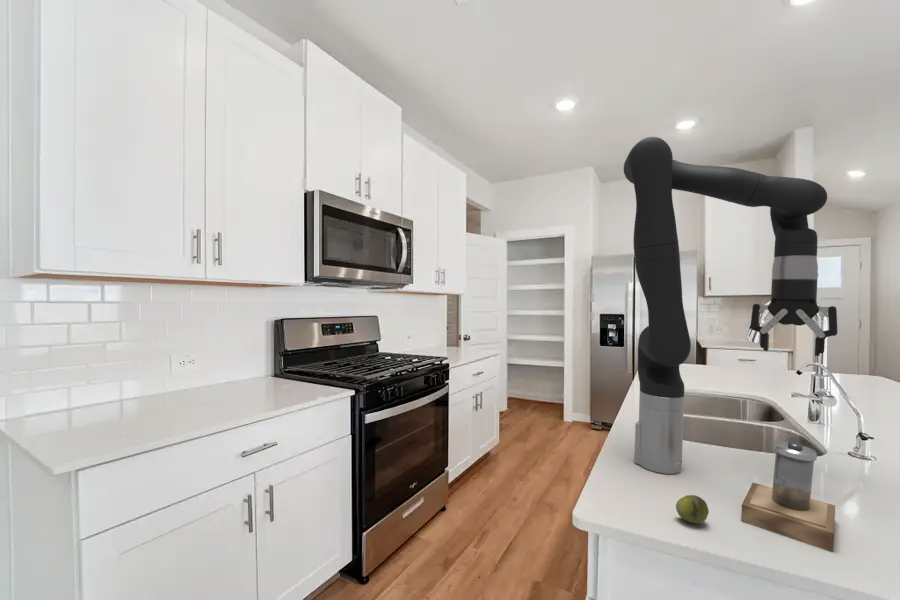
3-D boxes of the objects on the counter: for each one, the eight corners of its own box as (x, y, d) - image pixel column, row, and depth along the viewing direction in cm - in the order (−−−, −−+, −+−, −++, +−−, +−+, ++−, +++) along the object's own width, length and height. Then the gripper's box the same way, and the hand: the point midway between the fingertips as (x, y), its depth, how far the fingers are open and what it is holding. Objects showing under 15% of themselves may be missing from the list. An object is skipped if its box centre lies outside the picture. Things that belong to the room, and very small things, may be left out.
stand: (741, 520, 73) (741, 502, 73) (752, 497, 82) (752, 481, 81) (833, 551, 65) (834, 531, 64) (834, 521, 73) (835, 504, 73)
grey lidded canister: (768, 502, 73) (773, 444, 72) (770, 490, 77) (775, 434, 76) (812, 516, 69) (817, 454, 68) (811, 502, 73) (816, 444, 73)
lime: (671, 519, 73) (672, 491, 73) (690, 513, 75) (690, 486, 75) (695, 532, 69) (696, 503, 69) (714, 526, 71) (715, 498, 71)
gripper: (750, 277, 90) (747, 350, 90) (839, 277, 80) (835, 359, 80) (755, 278, 95) (753, 347, 96) (840, 278, 85) (836, 355, 86)
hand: (790, 353), depth 88 cm, fingers open, 8 cm apart
